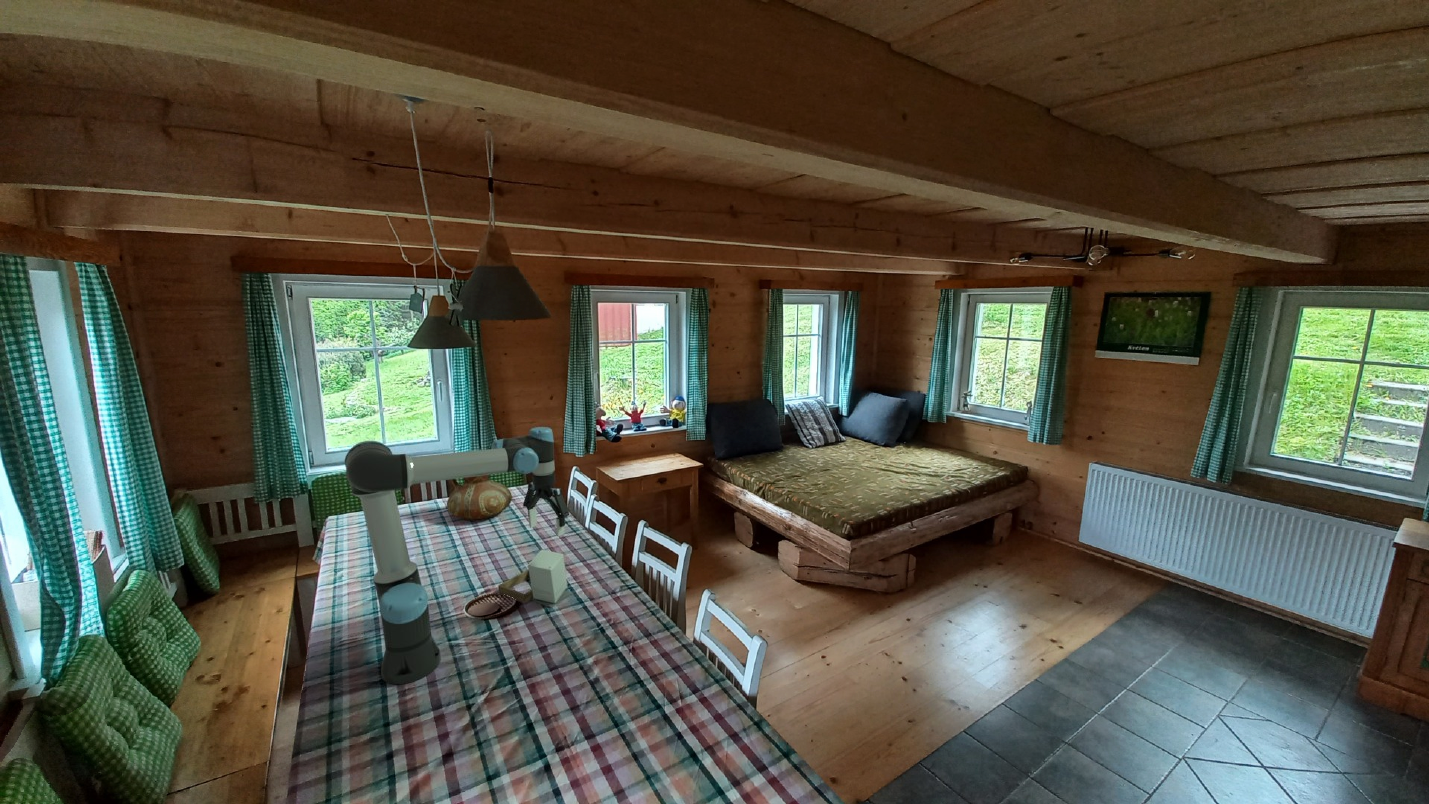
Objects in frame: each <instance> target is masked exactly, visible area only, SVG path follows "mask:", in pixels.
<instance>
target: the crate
mask: <svg viewBox="0 0 1429 804" xmlns="http://www.w3.org/2000/svg"><path fill="white" fill-rule="evenodd" d="M528 579H530V575H529V569H526V570H525V571H523V572H521V573H519V574H517V575H516V576H513V577H511V578H509V579H508V580H506V581H504V582H501V583H500V584H498V585H497V586H498V587H497V588H498V593H499V594H500V593H501V595H503V594H505V595H508V596H510V597H513V598H514V599H513V600H515V599H516V600H515V601H517V602H520V603H521V604H522V603H523V604H526V603H527V602H530V601H532V600H531V598H532V597H533V592H532V589H530V590H528V591H527V592H525V593H522V592H520V591H517V590H515V589H512V588H513V587H515V586H517V585H518V584H520V583H522V582H524V581H526V580H528ZM505 595H504V596H505ZM510 597H509V598H510Z"/></svg>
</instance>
